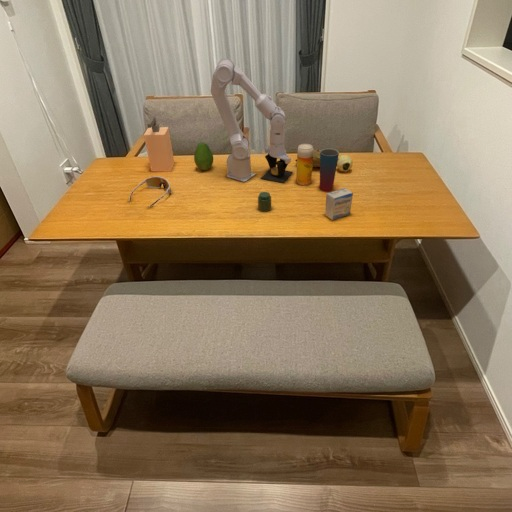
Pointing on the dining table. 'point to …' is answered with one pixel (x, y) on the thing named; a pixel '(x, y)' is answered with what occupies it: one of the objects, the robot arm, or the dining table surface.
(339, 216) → the medicine box
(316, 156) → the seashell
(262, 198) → the jar
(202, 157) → the fruit
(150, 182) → the sunglasses
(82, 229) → the dining table surface
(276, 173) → the lid
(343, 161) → the cream rounded piece
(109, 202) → the dining table surface
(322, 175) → the cup
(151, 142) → the soap dispenser
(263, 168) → the dining table surface
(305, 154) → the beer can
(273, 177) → the coaster
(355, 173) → the dining table surface
